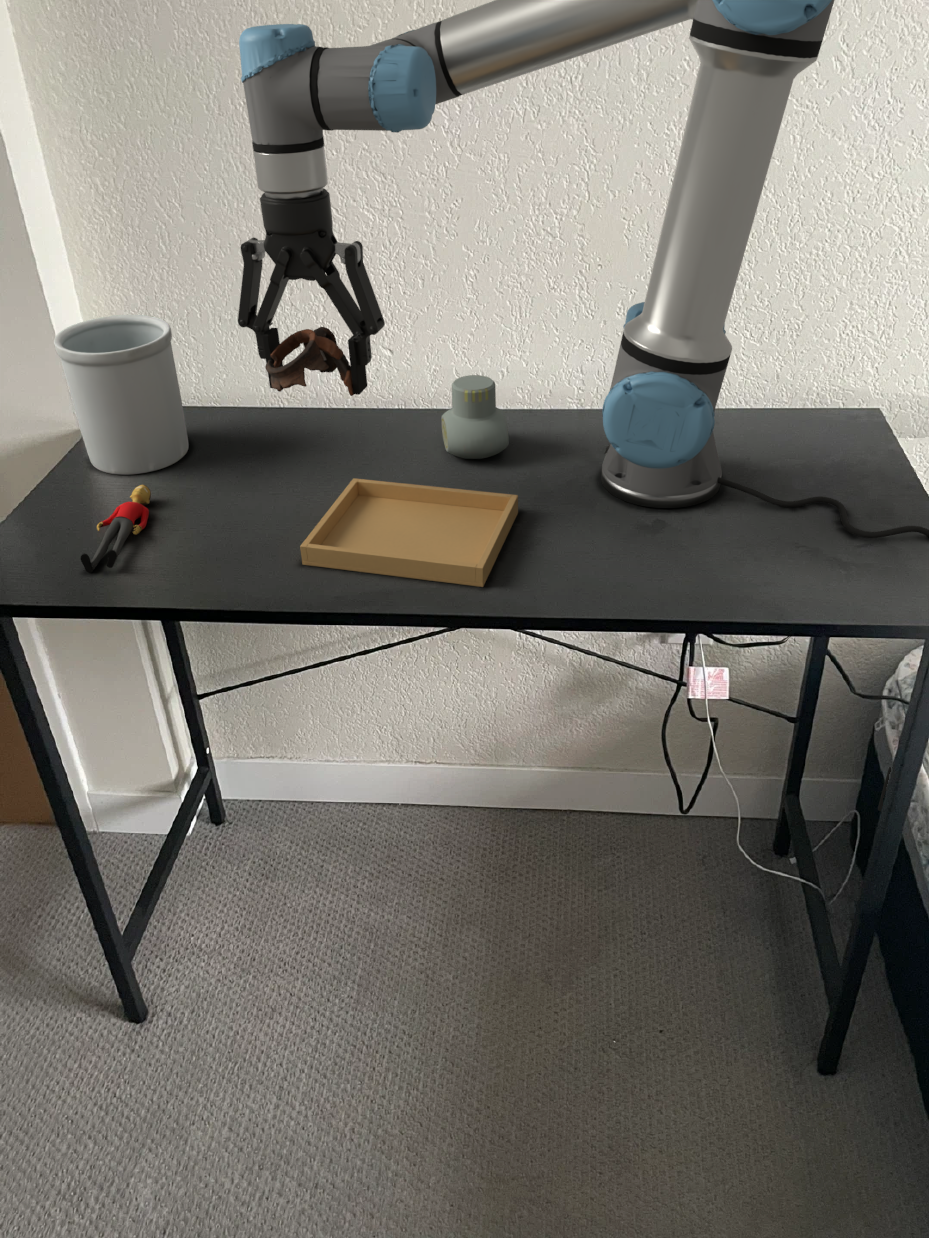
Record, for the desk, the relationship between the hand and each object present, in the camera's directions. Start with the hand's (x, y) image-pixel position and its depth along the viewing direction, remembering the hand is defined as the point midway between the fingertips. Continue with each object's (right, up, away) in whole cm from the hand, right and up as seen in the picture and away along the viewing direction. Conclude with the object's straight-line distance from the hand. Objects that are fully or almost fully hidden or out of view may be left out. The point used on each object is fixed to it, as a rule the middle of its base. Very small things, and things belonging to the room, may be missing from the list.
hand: (318, 387), depth 123 cm
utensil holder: (-28, -5, +22) cm, 36 cm away
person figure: (-24, -18, +3) cm, 30 cm away
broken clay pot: (0, 0, 0) cm, 0 cm away
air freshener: (+19, -5, +20) cm, 28 cm away
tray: (+11, -18, 0) cm, 21 cm away
